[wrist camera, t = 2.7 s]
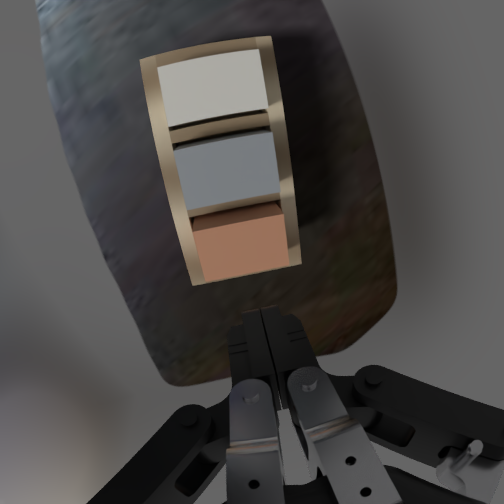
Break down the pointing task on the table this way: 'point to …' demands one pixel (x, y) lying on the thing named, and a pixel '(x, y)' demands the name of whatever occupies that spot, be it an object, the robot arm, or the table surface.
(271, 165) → the slate key
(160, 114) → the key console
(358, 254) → the table surface
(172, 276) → the table surface
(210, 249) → the rust key
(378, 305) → the table surface
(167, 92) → the ivory key
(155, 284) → the table surface
